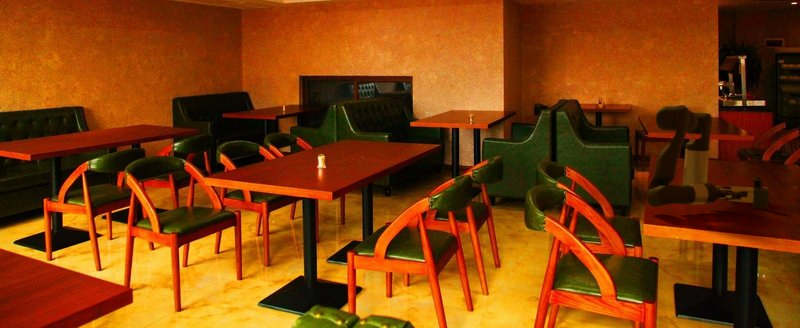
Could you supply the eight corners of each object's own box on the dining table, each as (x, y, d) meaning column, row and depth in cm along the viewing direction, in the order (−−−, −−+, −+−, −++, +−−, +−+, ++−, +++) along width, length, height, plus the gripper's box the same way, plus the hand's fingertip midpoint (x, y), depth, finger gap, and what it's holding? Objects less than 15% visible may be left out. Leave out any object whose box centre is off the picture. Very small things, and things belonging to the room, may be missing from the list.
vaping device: (752, 206, 239) (754, 175, 237) (768, 208, 236) (770, 177, 234) (751, 207, 237) (753, 176, 235) (766, 209, 234) (769, 178, 232)
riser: (728, 200, 249) (729, 190, 248) (728, 195, 259) (729, 185, 258) (760, 203, 244) (761, 193, 243) (759, 198, 253) (760, 188, 253)
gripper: (714, 187, 223) (753, 185, 226) (688, 180, 236) (725, 178, 240) (712, 208, 224) (752, 205, 227) (687, 199, 238) (724, 197, 241)
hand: (738, 191), depth 233 cm, fingers open, 8 cm apart
